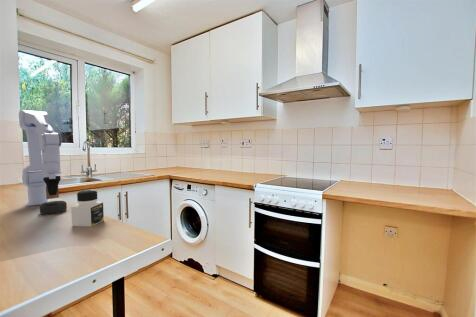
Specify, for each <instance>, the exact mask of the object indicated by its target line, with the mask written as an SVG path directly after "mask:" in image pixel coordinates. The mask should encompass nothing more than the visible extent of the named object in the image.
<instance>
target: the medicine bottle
mask: <svg viewBox="0 0 476 317" xmlns="http://www.w3.org/2000/svg"><path fill="white" fill-rule="evenodd" d="M76 198H77V204H75V205H72V206H71V207H70V210H71V211H70V213H71V214H70V215H71V226H72V227H80V228H81V227H82V228H83V227H87V228H88V227H90V228H91V227H93V226H95V225H97V224H99V223H101V222H103V221H104V219H105V218H104V213H105V212H104V202H103V201H98V191H97V190H95V189H84V190H80V191H78V192H77V193H76Z"/></svg>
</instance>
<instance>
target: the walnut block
mask: <svg viewBox="0 0 476 317" xmlns="http://www.w3.org/2000/svg"><path fill="white" fill-rule="evenodd" d="M59 194H60V193H59V187H58V188H57V194H56V195H49V192H48V188H47V186H46V199H49V200H51V199H52V200H53V199H58V198H60V196H59Z"/></svg>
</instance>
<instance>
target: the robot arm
mask: <svg viewBox="0 0 476 317" xmlns="http://www.w3.org/2000/svg"><path fill="white" fill-rule="evenodd" d="M49 120H50V117H49V113H48V112H47V111H39V110H27V109H20V110H19V111H18V121H19V124H18V125H19V126H20V129H22V130H24V131H25V135H26V140H27V151H28V159H29V160H28V162H29V164H28V165H27V166H26V167H24V168H23V169H22V175H21V176H22V177H21V178H22V184H23V185H24V186H27V187H26V188H27V203H26V207H31V206H38V205H39V206H40V205H41V204H43V203H46V202H50V199H46V186H47V188H48V192H49V195H56V194H57V188H58V189H59V184H60V181H61V180H62V178H61V174H62V171H61V154H60V153H61V152H60V147H61V146H62V142H63V141H62V139H63V138H62V135H61V133H60V132H56V131H55V130H54V128H53V127H52V125H51V124H49Z"/></svg>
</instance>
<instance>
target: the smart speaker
mask: <svg viewBox="0 0 476 317" xmlns="http://www.w3.org/2000/svg"><path fill="white" fill-rule="evenodd" d="M66 210H68V206H67V202H66V201H64V200H52V201H49V202H46V203H43V204H40V205H39V213H40V214H41V215H55V214H59V213H63V212H65V211H66Z"/></svg>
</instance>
